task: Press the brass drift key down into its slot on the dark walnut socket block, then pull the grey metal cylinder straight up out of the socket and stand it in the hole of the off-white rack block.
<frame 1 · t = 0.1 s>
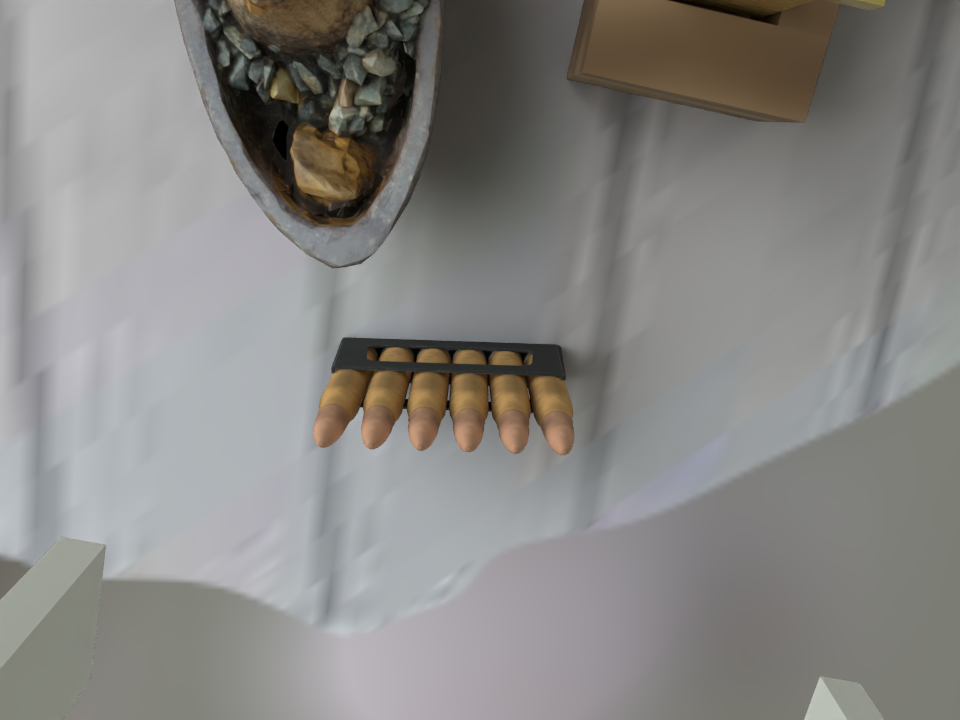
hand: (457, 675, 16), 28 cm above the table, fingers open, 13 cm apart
ammunition clip: (451, 358, 43), on the table
planter: (341, 4, 39), on the table
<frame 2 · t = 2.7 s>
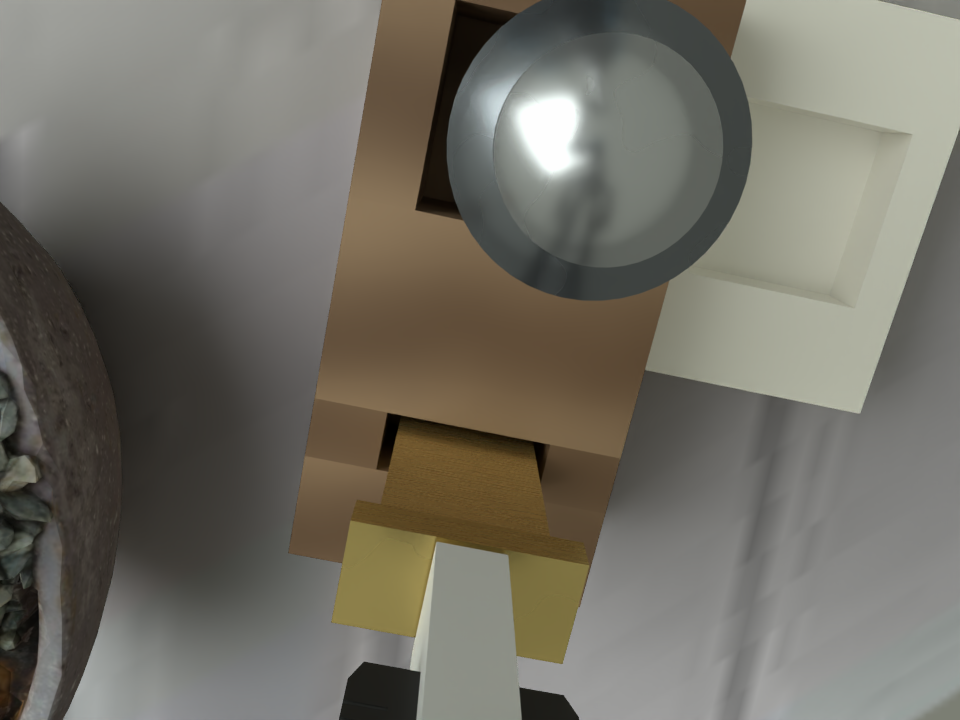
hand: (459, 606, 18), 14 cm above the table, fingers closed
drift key: (461, 493, 23), point 9 cm above the table, slide at 1.5 cm, touching gripper
grey metal cylinder: (526, 127, 27), point 2 cm above the table, touching socket block
socket block: (493, 259, 30), on the table
planter: (36, 389, 31), on the table
rack block: (766, 195, 29), on the table
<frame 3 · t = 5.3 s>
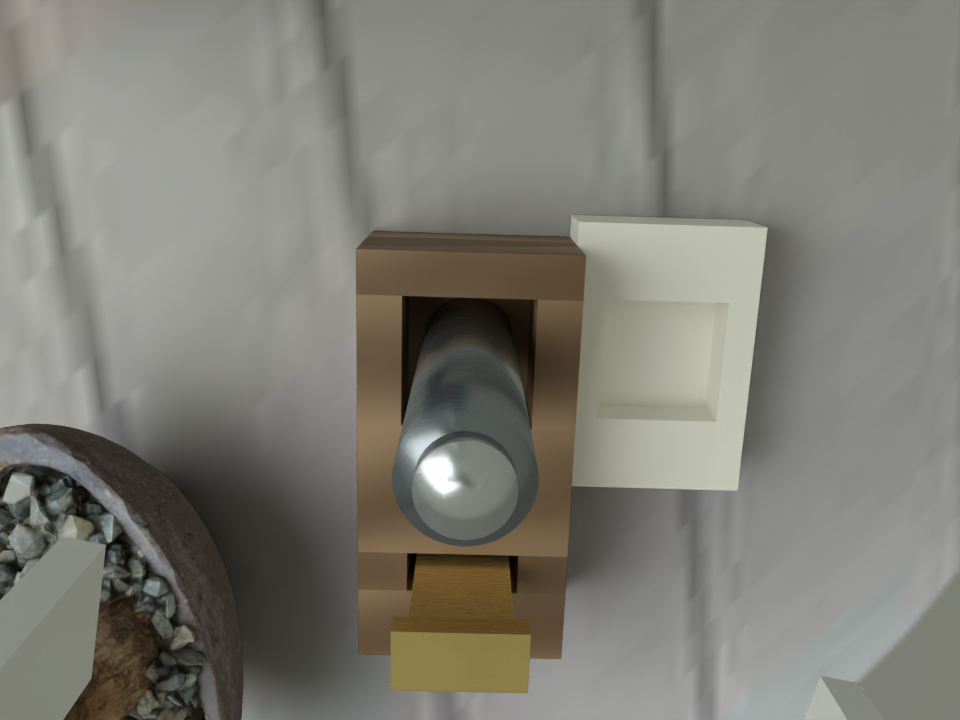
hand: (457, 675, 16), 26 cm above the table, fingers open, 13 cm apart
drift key: (461, 591, 36), point 8 cm above the table, slide at 2.5 cm
grey metal cylinder: (468, 339, 39), point 2 cm above the table, touching socket block
socket block: (466, 420, 42), on the table
planter: (166, 560, 45), on the table
rack block: (648, 345, 42), on the table
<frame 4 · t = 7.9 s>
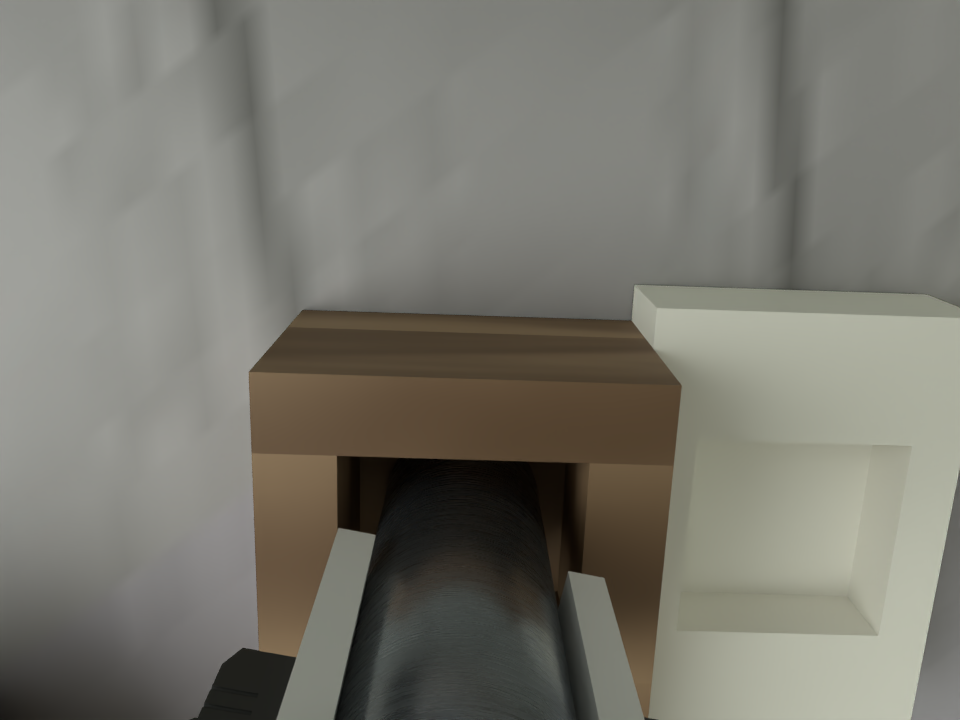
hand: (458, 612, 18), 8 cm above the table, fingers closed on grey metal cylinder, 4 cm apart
grey metal cylinder: (462, 497, 23), point 2 cm above the table, touching gripper, socket block
socket block: (458, 607, 26), on the table
rack block: (754, 492, 26), on the table
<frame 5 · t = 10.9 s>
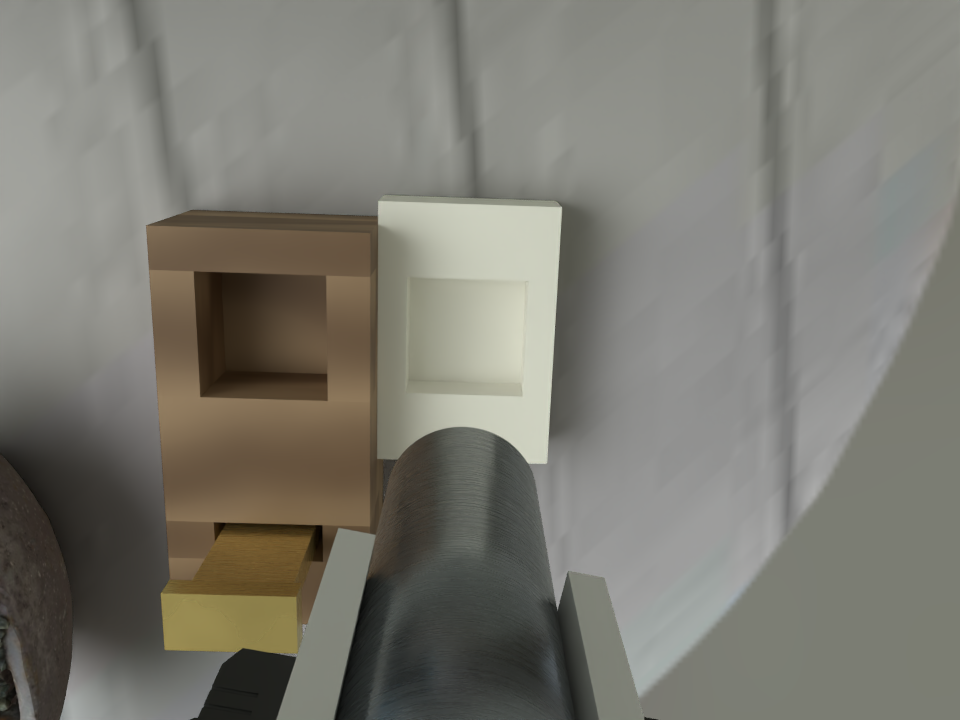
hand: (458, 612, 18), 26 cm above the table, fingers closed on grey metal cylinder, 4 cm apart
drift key: (260, 558, 38), point 8 cm above the table, slide at 2.5 cm
grey metal cylinder: (461, 497, 23), point 20 cm above the table, touching gripper
socket block: (292, 395, 44), on the table
planter: (8, 532, 46), on the table
rack block: (466, 322, 43), on the table
when the fingers open (8 cm above the table, at t = 14.2 s): grey metal cylinder drops 1 cm, resting on rack block.
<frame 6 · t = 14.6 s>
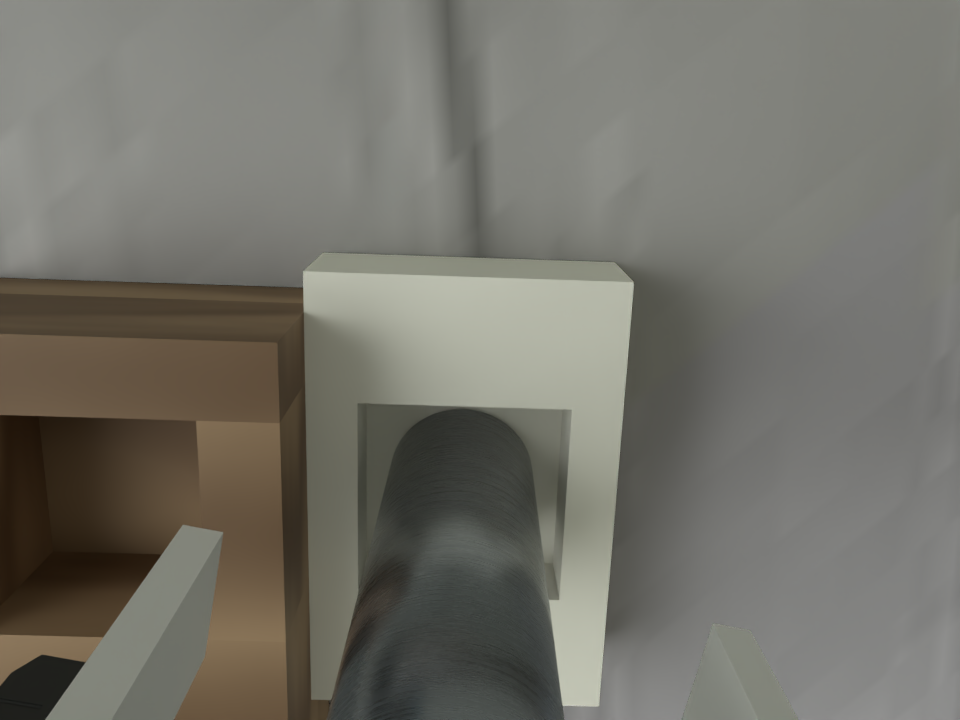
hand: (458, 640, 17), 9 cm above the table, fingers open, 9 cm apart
grey metal cylinder: (461, 475, 25), point 1 cm above the table, touching rack block
socket block: (178, 575, 27), on the table
rack block: (462, 461, 26), on the table
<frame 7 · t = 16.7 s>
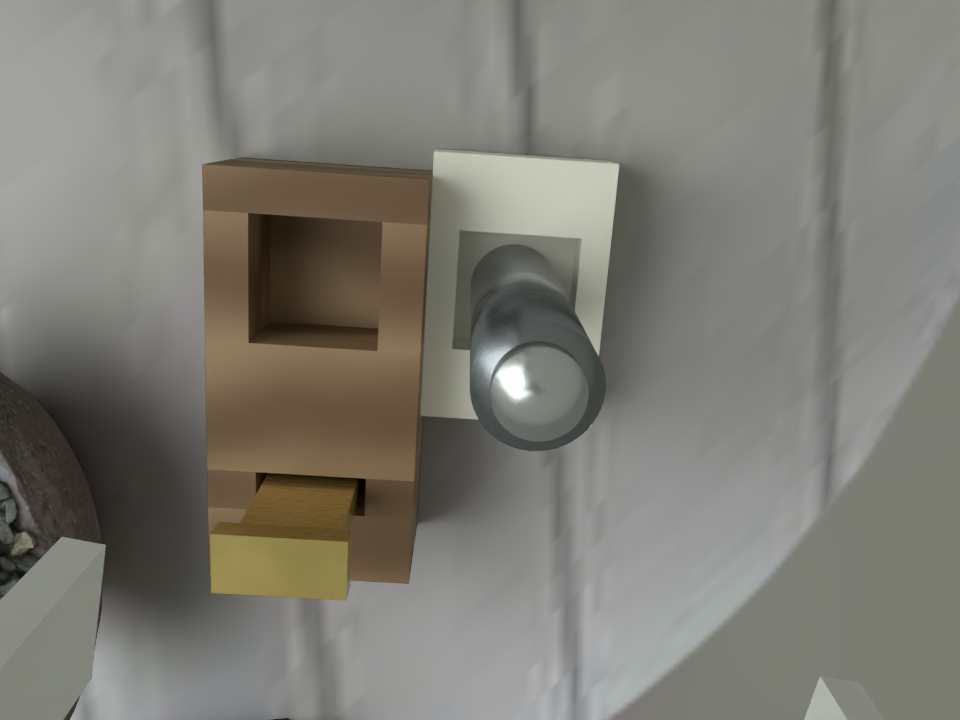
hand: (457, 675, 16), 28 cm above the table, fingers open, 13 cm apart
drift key: (304, 509, 37), point 8 cm above the table, slide at 2.5 cm
grey metal cylinder: (513, 286, 41), point 1 cm above the table, touching rack block
socket block: (334, 351, 43), on the table
planter: (38, 482, 45), on the table
rack block: (513, 282, 42), on the table
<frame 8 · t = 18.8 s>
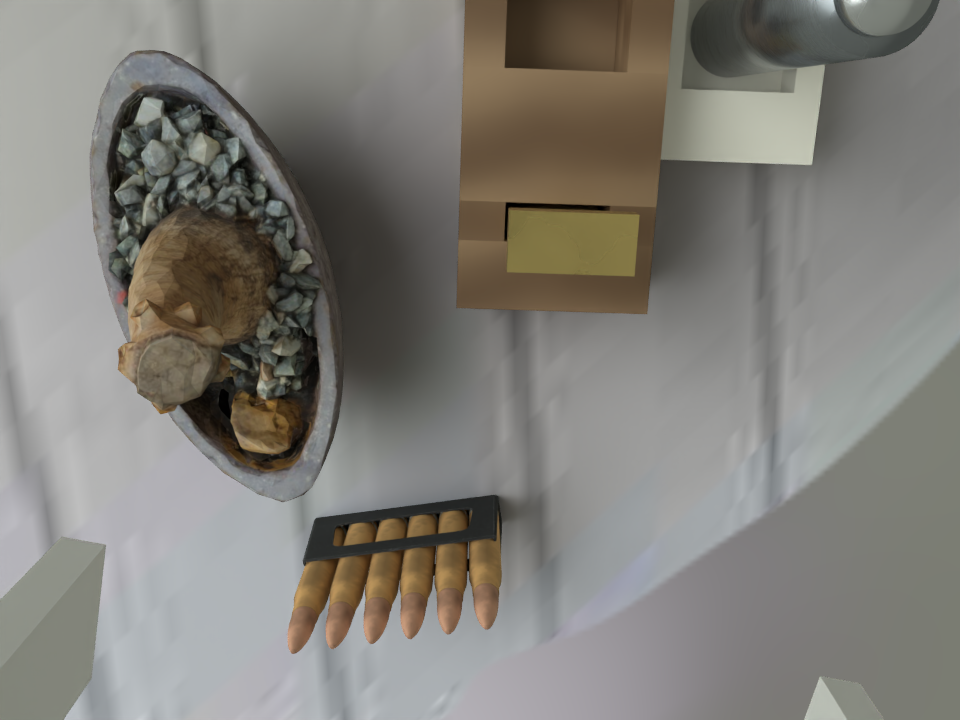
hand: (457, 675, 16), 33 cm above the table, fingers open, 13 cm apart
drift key: (560, 227, 39), point 8 cm above the table, slide at 2.5 cm
ammunition clip: (408, 519, 51), on the table
grey metal cylinder: (731, 34, 43), point 1 cm above the table, touching rack block
socket block: (551, 113, 45), on the table
planter: (262, 258, 47), on the table
rack block: (726, 36, 44), on the table
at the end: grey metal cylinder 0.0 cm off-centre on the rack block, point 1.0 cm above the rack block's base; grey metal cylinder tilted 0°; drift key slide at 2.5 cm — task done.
